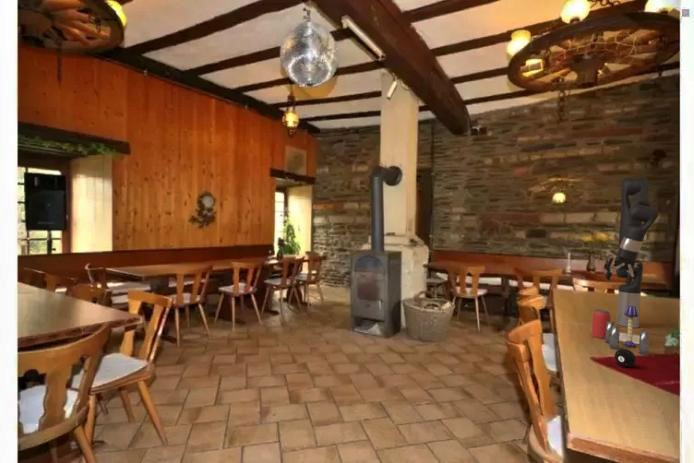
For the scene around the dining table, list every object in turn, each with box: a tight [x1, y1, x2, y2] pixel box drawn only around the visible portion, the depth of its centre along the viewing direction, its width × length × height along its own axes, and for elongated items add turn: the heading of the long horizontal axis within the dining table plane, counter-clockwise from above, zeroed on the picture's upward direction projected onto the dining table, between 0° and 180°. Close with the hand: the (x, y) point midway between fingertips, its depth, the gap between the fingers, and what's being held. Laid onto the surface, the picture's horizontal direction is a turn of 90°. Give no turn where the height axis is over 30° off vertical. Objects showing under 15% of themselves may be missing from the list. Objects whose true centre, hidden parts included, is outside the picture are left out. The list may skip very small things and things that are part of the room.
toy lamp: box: [622, 306, 638, 348], centre depth 163 cm, size 5×5×17 cm
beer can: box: [591, 308, 611, 340], centre depth 175 cm, size 7×7×12 cm
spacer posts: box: [604, 320, 650, 356], centre depth 159 cm, size 11×16×9 cm, turn 39°
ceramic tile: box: [619, 332, 640, 345], centre depth 173 cm, size 12×12×1 cm
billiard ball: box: [614, 348, 636, 368], centre depth 139 cm, size 6×6×6 cm
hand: (617, 281), depth 181 cm, fingers open, 8 cm apart
